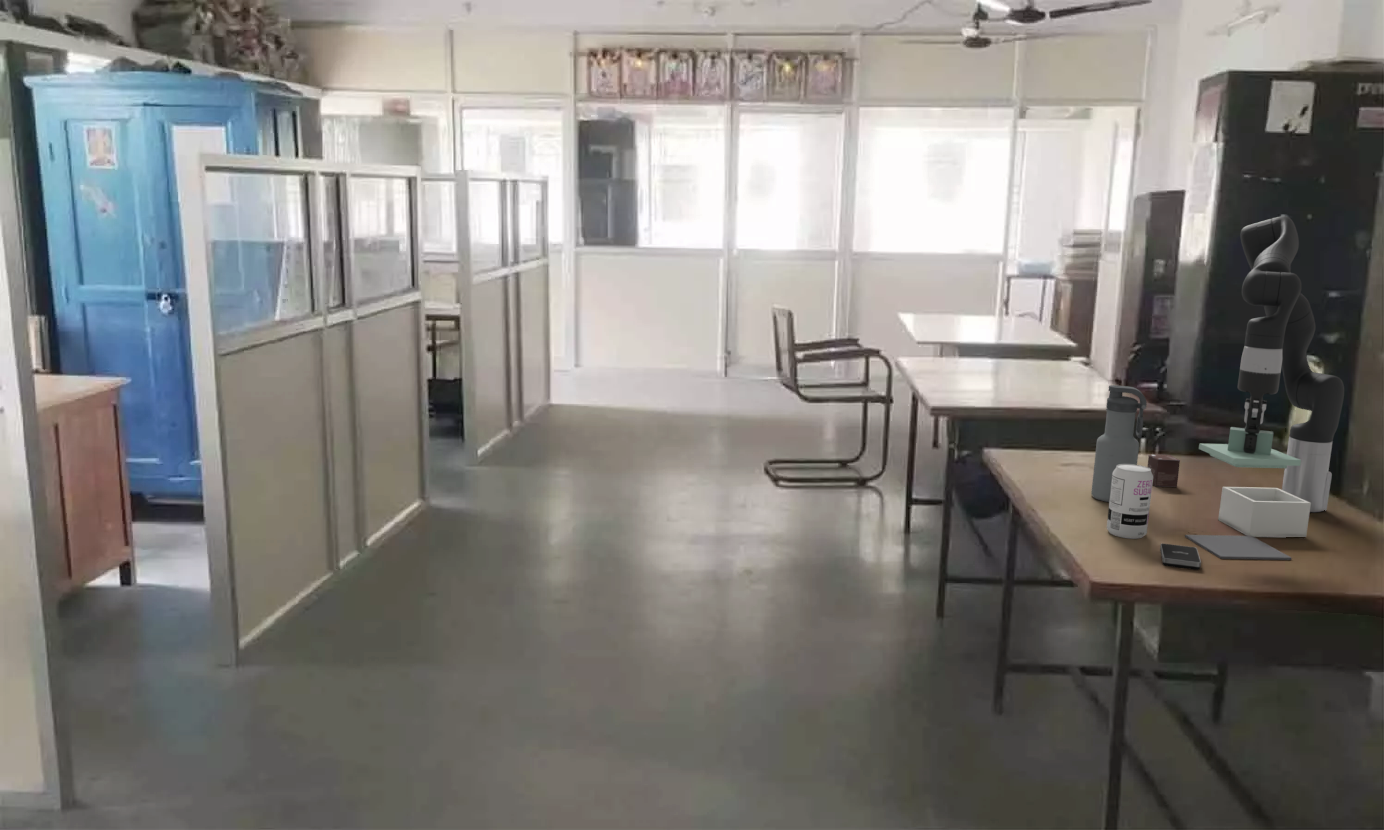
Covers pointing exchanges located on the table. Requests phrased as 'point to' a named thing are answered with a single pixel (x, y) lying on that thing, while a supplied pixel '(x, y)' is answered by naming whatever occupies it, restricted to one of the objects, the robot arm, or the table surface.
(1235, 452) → the lid
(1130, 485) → the supplement can
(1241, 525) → the storage box
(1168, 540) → the table surface
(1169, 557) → the external hard drive
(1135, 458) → the water bottle
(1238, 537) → the mat
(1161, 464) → the box
